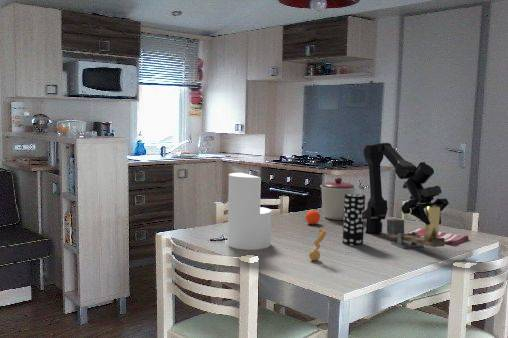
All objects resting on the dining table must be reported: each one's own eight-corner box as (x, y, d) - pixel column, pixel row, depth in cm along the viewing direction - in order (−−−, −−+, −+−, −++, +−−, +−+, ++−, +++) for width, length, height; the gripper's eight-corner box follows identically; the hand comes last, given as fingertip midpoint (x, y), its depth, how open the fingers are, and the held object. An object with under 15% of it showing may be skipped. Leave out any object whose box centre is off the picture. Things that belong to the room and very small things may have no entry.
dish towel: (453, 247, 212) (454, 241, 212) (400, 237, 228) (401, 231, 228) (469, 240, 225) (469, 234, 224) (417, 231, 240) (418, 225, 240)
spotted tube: (364, 242, 216) (366, 194, 213) (361, 246, 208) (363, 197, 206) (344, 240, 218) (346, 193, 216) (340, 244, 210) (342, 195, 208)
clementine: (301, 224, 247) (301, 210, 246) (305, 222, 253) (306, 207, 253) (317, 226, 244) (318, 211, 243) (321, 223, 251) (322, 209, 250)
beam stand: (390, 243, 213) (391, 231, 213) (411, 242, 217) (411, 230, 216) (403, 248, 206) (403, 235, 205) (423, 246, 209) (424, 234, 209)
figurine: (313, 257, 191) (314, 225, 190) (329, 259, 188) (330, 227, 187) (304, 262, 184) (306, 229, 182) (320, 265, 181) (322, 231, 179)
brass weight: (425, 241, 196) (427, 207, 194) (422, 238, 201) (425, 205, 199) (439, 242, 195) (441, 208, 194) (436, 238, 200) (438, 205, 198)
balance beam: (387, 236, 220) (386, 219, 220) (396, 235, 222) (396, 219, 222) (433, 247, 193) (433, 228, 193) (444, 246, 195) (444, 227, 194)
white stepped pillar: (239, 251, 196) (240, 178, 193) (220, 241, 212) (221, 173, 209) (278, 247, 204) (280, 176, 201) (258, 237, 219) (259, 171, 217)
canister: (315, 214, 273) (316, 175, 270) (348, 214, 275) (350, 175, 272) (323, 221, 255) (325, 179, 252) (359, 221, 257) (361, 179, 254)
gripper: (407, 179, 196) (425, 213, 187) (447, 177, 202) (466, 210, 193) (393, 196, 204) (410, 230, 195) (432, 194, 210) (449, 227, 201)
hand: (434, 224), depth 196 cm, fingers closed on brass weight, 5 cm apart
